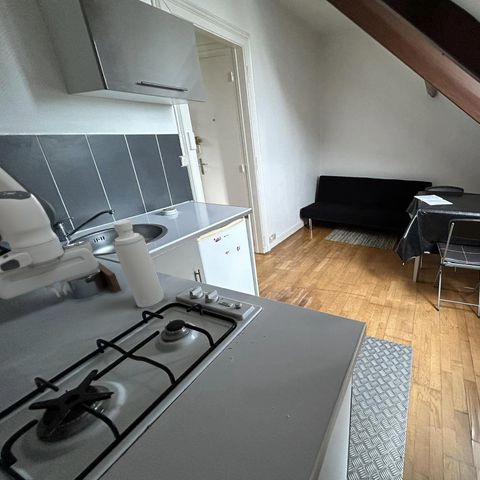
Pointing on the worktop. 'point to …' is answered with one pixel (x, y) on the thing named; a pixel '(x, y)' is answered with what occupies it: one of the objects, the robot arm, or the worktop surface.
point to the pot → (87, 284)
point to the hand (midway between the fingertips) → (62, 295)
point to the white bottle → (137, 265)
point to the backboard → (109, 278)
